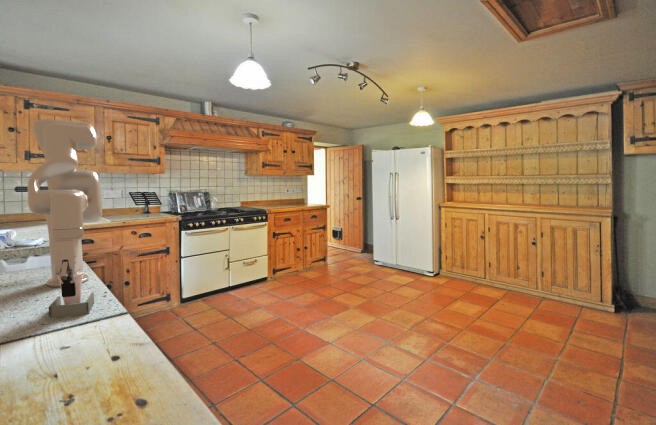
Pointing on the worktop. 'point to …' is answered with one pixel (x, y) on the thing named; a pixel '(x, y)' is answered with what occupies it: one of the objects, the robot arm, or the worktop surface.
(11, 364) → the worktop surface
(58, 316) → the bay
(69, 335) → the worktop surface
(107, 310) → the worktop surface
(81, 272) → the smoothie
